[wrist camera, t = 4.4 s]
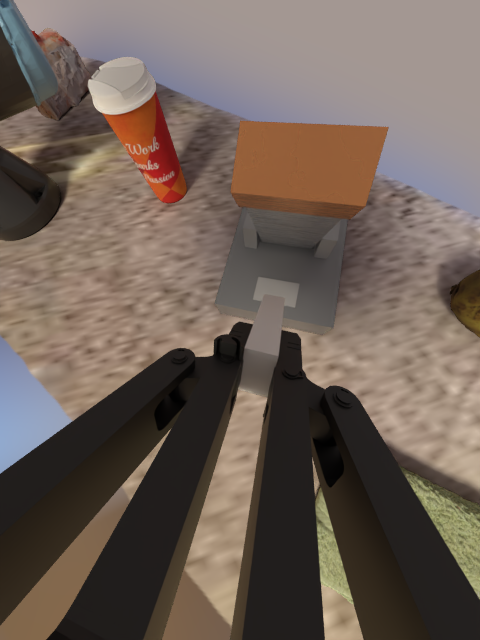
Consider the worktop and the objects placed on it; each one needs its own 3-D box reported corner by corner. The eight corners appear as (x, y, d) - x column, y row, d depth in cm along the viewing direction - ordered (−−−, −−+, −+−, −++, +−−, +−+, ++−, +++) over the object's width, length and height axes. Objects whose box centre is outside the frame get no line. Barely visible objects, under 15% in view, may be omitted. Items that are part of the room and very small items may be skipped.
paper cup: (144, 203, 34) (70, 93, 21) (163, 171, 36) (106, 51, 23) (182, 212, 33) (128, 101, 19) (200, 179, 34) (162, 56, 21)
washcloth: (481, 683, 16) (533, 755, 13) (287, 546, 20) (292, 578, 17) (507, 518, 19) (556, 546, 16) (332, 424, 23) (343, 432, 19)
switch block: (322, 335, 25) (347, 319, 18) (220, 313, 27) (207, 292, 20) (340, 211, 30) (365, 161, 23) (252, 202, 32) (250, 153, 25)
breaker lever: (310, 253, 24) (365, 206, 9) (261, 245, 25) (230, 192, 10) (316, 227, 23) (388, 127, 8) (265, 221, 24) (240, 120, 9)
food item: (77, 81, 48) (32, 9, 38) (100, 86, 46) (58, 12, 37) (40, 116, 45) (-18, 49, 36) (63, 124, 43) (8, 55, 34)
